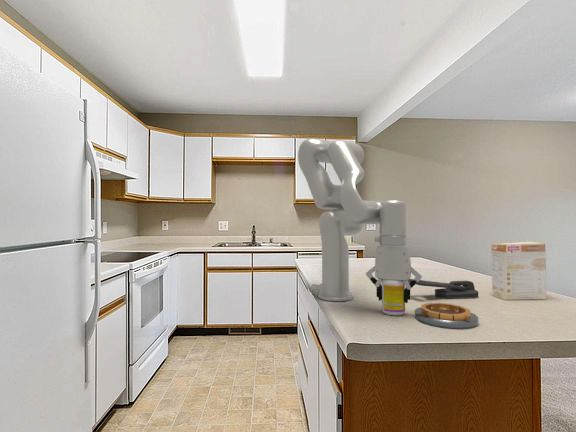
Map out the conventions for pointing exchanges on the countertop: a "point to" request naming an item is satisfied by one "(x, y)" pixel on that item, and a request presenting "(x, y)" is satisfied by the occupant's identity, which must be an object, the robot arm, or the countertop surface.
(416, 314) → the rosette plate
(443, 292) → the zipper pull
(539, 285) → the coffeecake box
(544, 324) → the countertop surface
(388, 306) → the supplement bottle
